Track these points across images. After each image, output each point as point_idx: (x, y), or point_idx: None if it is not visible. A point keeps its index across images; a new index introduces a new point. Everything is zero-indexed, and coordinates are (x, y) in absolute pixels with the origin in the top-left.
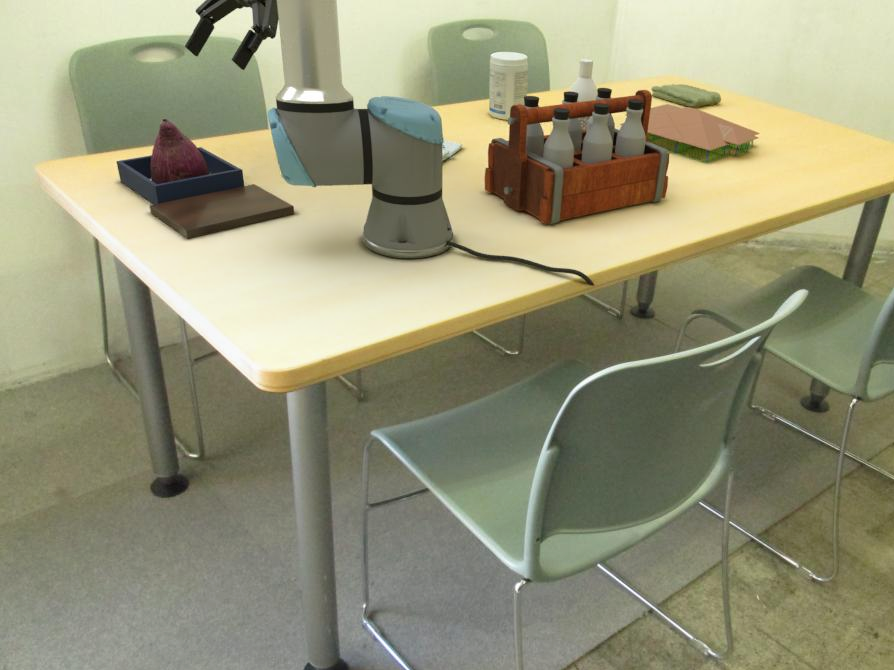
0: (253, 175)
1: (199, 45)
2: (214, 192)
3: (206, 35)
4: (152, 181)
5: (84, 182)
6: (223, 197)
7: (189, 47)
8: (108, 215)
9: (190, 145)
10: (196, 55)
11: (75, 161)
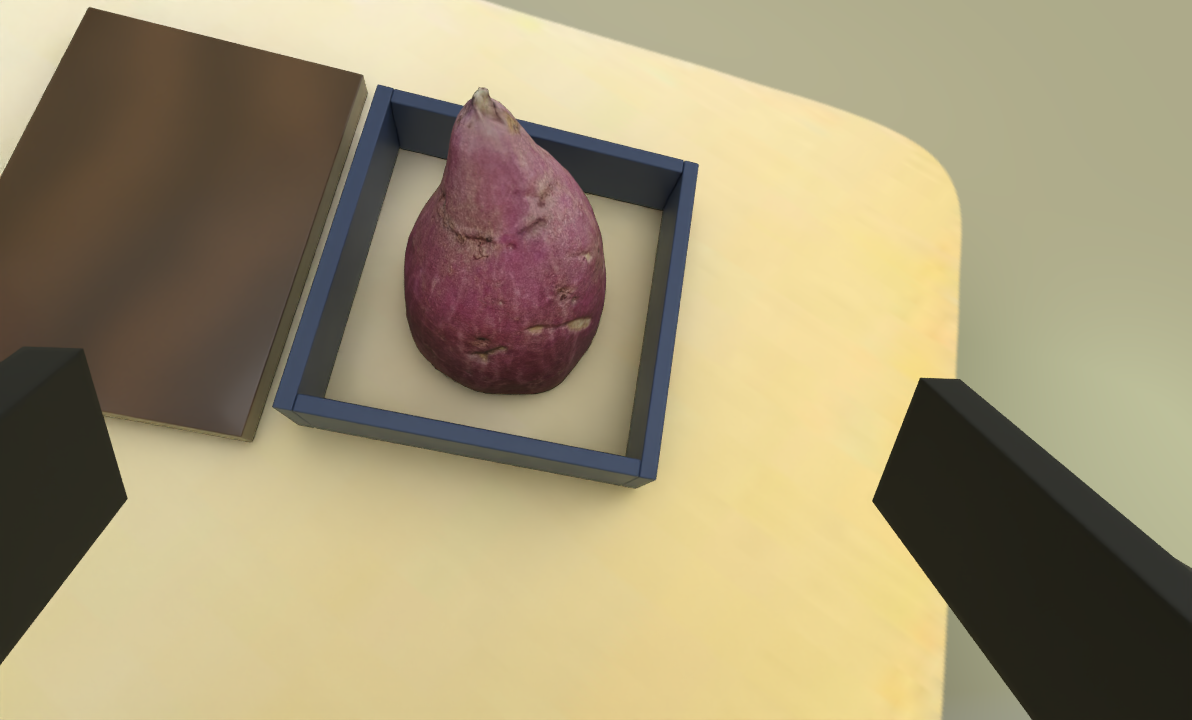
0: (412, 569)
1: (943, 540)
2: (292, 273)
3: (1047, 686)
4: (425, 107)
5: (741, 139)
6: (221, 259)
7: (922, 409)
8: (450, 23)
9: (438, 249)
10: (877, 490)
11: (933, 231)
